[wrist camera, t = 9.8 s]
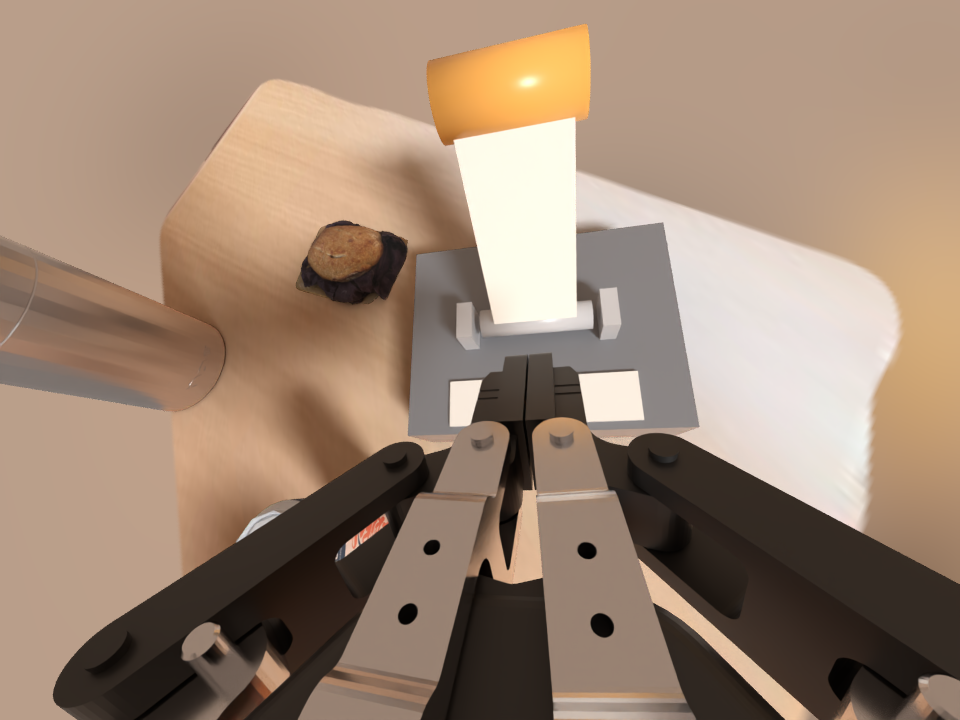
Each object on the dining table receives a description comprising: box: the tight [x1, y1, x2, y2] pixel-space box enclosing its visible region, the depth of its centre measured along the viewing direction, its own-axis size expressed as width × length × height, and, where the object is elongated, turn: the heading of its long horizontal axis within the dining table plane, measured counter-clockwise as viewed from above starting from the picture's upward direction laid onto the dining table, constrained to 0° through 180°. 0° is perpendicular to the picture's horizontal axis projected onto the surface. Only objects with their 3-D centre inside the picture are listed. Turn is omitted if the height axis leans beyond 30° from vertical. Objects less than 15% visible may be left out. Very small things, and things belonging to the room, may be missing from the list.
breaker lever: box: [427, 24, 593, 338], centre depth 20 cm, size 3×7×15 cm, turn 90°
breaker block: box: [408, 223, 699, 442], centre depth 27 cm, size 14×18×8 cm
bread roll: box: [296, 221, 408, 304], centre depth 36 cm, size 11×8×4 cm
